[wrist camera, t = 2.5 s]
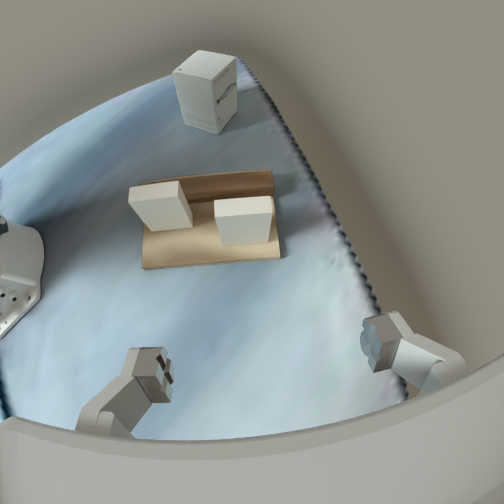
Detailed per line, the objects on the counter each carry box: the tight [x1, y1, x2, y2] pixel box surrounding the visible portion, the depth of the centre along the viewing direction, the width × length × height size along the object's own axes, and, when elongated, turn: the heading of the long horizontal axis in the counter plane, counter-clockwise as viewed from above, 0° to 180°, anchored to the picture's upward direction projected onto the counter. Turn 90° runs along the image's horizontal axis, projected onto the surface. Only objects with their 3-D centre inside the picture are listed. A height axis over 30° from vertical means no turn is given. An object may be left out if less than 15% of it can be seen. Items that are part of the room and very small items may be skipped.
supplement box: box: [172, 50, 238, 135], centre depth 42 cm, size 7×7×13 cm
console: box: [139, 169, 280, 270], centre depth 39 cm, size 12×19×4 cm, turn 95°
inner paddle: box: [128, 181, 193, 232], centre depth 35 cm, size 2×6×9 cm, turn 95°
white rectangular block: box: [214, 196, 273, 246], centre depth 34 cm, size 2×6×9 cm, turn 95°
